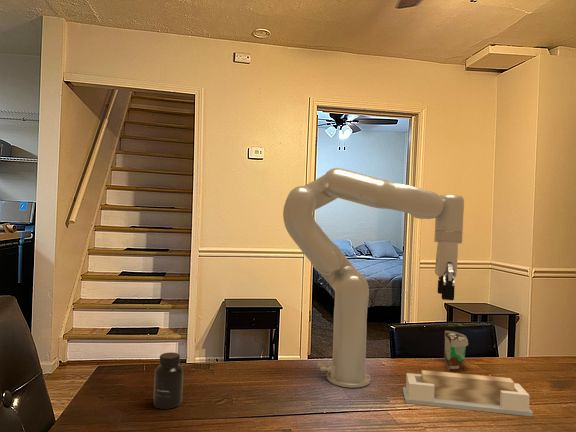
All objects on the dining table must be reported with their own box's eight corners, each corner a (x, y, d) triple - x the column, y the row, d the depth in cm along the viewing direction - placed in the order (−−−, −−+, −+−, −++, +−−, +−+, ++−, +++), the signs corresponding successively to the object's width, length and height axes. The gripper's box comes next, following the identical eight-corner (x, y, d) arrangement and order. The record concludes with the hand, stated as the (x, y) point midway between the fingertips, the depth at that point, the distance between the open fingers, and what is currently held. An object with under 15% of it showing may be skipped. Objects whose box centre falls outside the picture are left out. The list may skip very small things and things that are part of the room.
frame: (405, 403, 107) (406, 383, 107) (402, 390, 115) (403, 372, 115) (533, 416, 102) (533, 396, 102) (521, 402, 110) (521, 383, 110)
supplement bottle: (156, 412, 99) (157, 361, 99) (151, 400, 105) (152, 352, 105) (185, 407, 102) (186, 357, 102) (178, 396, 108) (180, 349, 108)
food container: (471, 374, 129) (472, 342, 129) (450, 372, 130) (451, 340, 130) (463, 361, 141) (464, 331, 141) (443, 359, 142) (444, 330, 142)
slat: (422, 397, 109) (423, 374, 109) (420, 392, 112) (421, 370, 112) (513, 406, 105) (514, 382, 105) (509, 401, 108) (510, 378, 108)
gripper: (431, 235, 131) (428, 290, 131) (438, 238, 114) (434, 301, 114) (457, 237, 129) (454, 292, 129) (467, 239, 112) (464, 303, 112)
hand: (445, 296), depth 121 cm, fingers open, 9 cm apart
